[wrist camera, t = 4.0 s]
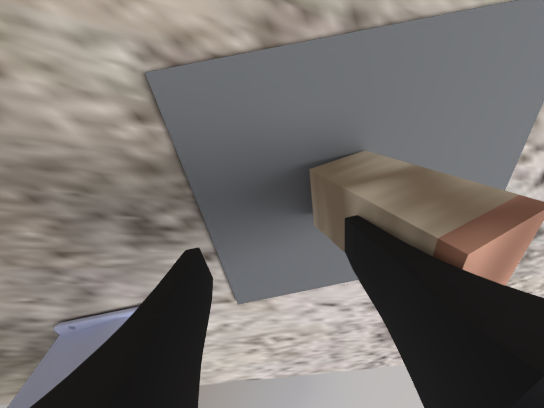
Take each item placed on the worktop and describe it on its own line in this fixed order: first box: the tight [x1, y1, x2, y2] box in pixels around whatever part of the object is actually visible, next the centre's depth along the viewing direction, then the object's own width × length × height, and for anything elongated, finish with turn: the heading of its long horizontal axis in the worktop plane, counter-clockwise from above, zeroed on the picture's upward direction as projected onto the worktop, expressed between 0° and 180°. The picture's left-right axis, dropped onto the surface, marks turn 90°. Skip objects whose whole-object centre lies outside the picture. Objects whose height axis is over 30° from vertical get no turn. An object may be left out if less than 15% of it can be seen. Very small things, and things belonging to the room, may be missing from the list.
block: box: [309, 150, 544, 286], centre depth 11 cm, size 4×4×8 cm
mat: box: [145, 0, 544, 304], centre depth 15 cm, size 22×18×1 cm
